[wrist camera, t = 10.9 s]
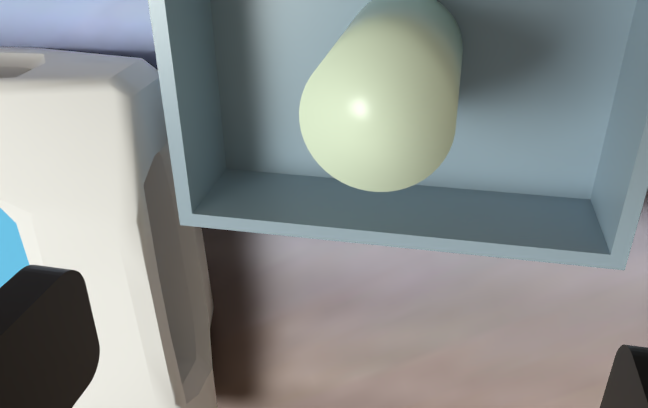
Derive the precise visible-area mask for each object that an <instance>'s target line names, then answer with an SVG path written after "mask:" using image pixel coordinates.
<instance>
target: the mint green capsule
mask: <svg viewBox="0 0 648 408" xmlns="http://www.w3.org/2000/svg"><path fill="white" fill-rule="evenodd" d="M462 55H463V42H462V36H461V32H460V29H459V26H458V24H457V22H456V20H455V19H454V17H453V16H452V14H451V13H450V12H449V11H448V9H447V8H446V7H445V6H443V5H442V4H441V3H440V2H438V1H437V0H372V1H371V2H370V3H368V4H367V5H366V6H365V7H364V8H363V9H362V10H361V11H360V12H359V13H358V14H357V16H356V17H355V18H354V20H353V21H352V22H351V24H350V25H349V26H348V28H347V29H346V30H345V32H344V33H343V34H342V35H341V37H340V38H339V39H338V41H337V42H336V43H335V45H334V46H333V47H332V49H331V50H330V51H329V53H328V54H327V55H326V57H325V58H324V59H323V60H322V62H321V63H320V64H319V66H318V67H317V68H316V70H315V71H314V72H313V74H312V75H311V76H310V78H309V80H308V82H307V83H306V85H305V88H304V90H303V93H302V96H301V101H300V107H299V123H300V129H301V133H302V136H303V139H304V142H305V144H306V146H307V148H308V150H309V152H310V153H311V155H312V157H313V158H314V159H315V160H316V162H317V163H318V164H319V165H320V166H321V167H322V168H323V169H324V170H325V171H326V172H327V173H328V174H330V175H331V176H332V177H334V178H335V179H337V180H339V181H340V182H342V183H344V184H346V185H349V186H351V187H354V188H357V189H361V190H365V191H372V192H390V191H397V190H401V189H405V188H408V187H410V186H413V185H415V184H417V183H419V182H421V181H423V180H424V179H426V178H427V177H428V176H430V175H431V174H432V173H433V172H434V171H435V170H436V169H437V168H438V167H439V166H440V165H441V163H442V162H443V161H444V160H445V158H446V156H447V154H448V153H449V151H450V148H451V146H452V143H453V140H454V136H455V130H456V119H457V109H458V98H459V87H460V77H461V66H462Z"/></svg>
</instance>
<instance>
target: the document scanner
mask: <svg viewBox="0 0 648 408" xmlns="http://www.w3.org/2000/svg"><path fill="white" fill-rule="evenodd" d="M28 265H40V266H48V267H55V268H63V269H70V270H76V271H78V272H79V273H81V275H82V276H83V278H84V280H85V283H86V287H87V292H88V296H89V301H90V305H91V309H92V314H93V318H94V322H95V327H96V331H97V335H98V340H99V345H100V356H99V362H98V367H97V370H96V373H95V375H94V377H93V379H92V381H91V383H90V384H89V386H88V387H87V388H86V390H85V391H84V392H83V394H82V395H81V396H80V398H79V399H78V401H77V402H76V403H75V405H74V406H73V407H72V408H218V407H217V399H216V391H215V384H214V376H213V367H212V353H211V339H210V327H211V321H212V316H213V310H214V305H213V299H212V292H211V286H210V279H209V273H208V266H207V260H206V253H205V247H204V240H203V233H202V227H194V226H184V225H180V221H179V214H178V207H177V200H176V193H175V186H174V179H173V172H172V165H171V158H170V151H169V144H168V137H167V130H166V123H165V116H164V109H163V102H162V95H161V88H160V81H159V74H158V70H157V69H155V68H154V67H153V66H152V65H150V64H149V63H148V62H146V61H145V60H144V59H142V58H135V57H125V56H115V55H105V54H95V53H84V52H74V51H64V50H54V49H44V48H34V47H0V288H1V287H2V286H3V285H4V284H5V283H6V282H7V281H8V280H10V279H11V278H12V277H13V276H14V275H15V274H16V273H17V272H19V271H20V270H21V269H22V268H24V267H26V266H28Z"/></svg>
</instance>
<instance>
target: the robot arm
mask: <svg viewBox="0 0 648 408" xmlns="http://www.w3.org/2000/svg"><path fill="white" fill-rule="evenodd" d="M99 356H100V345H99V340H98V335H97V331H96V327H95V322H94V318H93V314H92V309H91V305H90V301H89V296H88V292H87V287H86V283H85V280H84V278H83V276H82V275H81V273H79V272H78V271H76V270H70V269H63V268H55V267H48V266H40V265H28V266H26V267H24V268H22V269H21V270H20V271H19V272H17V273H16V274H15V275H14V276H13V277H12V278H11V279H10V280H8V281H7V282H6V283H5V284H4V285H3V286H2V287H1V288H0V408H72V407H73V406H74V405H75V403H76V402H77V401H78V399H79V398H80V396H81V395H82V394H83V392H84V391H85V390H86V388H87V387H88V386H89V384H90V383H91V381H92V379H93V377H94V375H95V373H96V370H97V367H98V362H99ZM600 408H648V348H646V347H638V346H630V345H622V346H621V347H620V348H619V349H618V351H617V353H616V356H615V359H614V362H613V366H612V369H611V372H610V376H609V379H608V382H607V386H606V389H605V392H604V396H603V399H602V402H601V406H600Z"/></svg>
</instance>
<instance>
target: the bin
mask: <svg viewBox="0 0 648 408" xmlns="http://www.w3.org/2000/svg"><path fill="white" fill-rule="evenodd" d="M371 1H372V0H148V4H149V11H150V18H151V25H152V32H153V39H154V46H155V53H156V60H157V67H158V74H159V81H160V88H161V95H162V102H163V109H164V116H165V123H166V130H167V137H168V144H169V151H170V158H171V165H172V172H173V179H174V186H175V193H176V200H177V207H178V214H179V221H180V225H184V226H194V227H204V228H214V229H223V230H233V231H243V232H253V233H263V234H273V235H283V236H292V237H302V238H312V239H322V240H332V241H342V242H351V243H361V244H371V245H381V246H391V247H401V248H410V249H420V250H430V251H440V252H450V253H460V254H470V255H479V256H489V257H499V258H509V259H519V260H529V261H538V262H548V263H558V264H568V265H578V266H588V267H597V268H607V269H617V270H625V267H626V263H627V260H628V256H629V253H630V249H631V246H632V242H633V239H634V235H635V232H636V228H637V224H638V221H639V217H640V214H641V210H642V207H643V203H644V200H645V196H646V193H647V189H648V0H437V1H438V2H440V3H441V4H442V5H443V6H445V7H446V8H447V9H448V11H449V12H450V13H451V14H452V16H453V17H454V19H455V20H456V22H457V24H458V26H459V29H460V32H461V36H462V42H463V55H462V66H461V77H460V87H459V98H458V109H457V119H456V130H455V136H454V140H453V143H452V146H451V148H450V151H449V153H448V154H447V156H446V158H445V160H444V161H443V162H442V163H441V165H440V166H439V167H438V168H437V169H436V170H435V171H434V172H433V173H432V174H431V175H430V176H428V177H427V178H426V179H424V180H423V181H421V182H419V183H417V184H415V185H413V186H410V187H408V188H405V189H401V190H397V191H390V192H372V191H365V190H361V189H357V188H354V187H351V186H349V185H346V184H344V183H342V182H340V181H339V180H337V179H335V178H334V177H332V176H331V175H330V174H328V173H327V172H326V171H325V170H324V169H323V168H322V167H321V166H320V165H319V164H318V163H317V162H316V160H315V159H314V158H313V157H312V155H311V153H310V152H309V150H308V148H307V146H306V144H305V142H304V139H303V136H302V133H301V129H300V123H299V107H300V101H301V96H302V93H303V90H304V88H305V85H306V83H307V82H308V80H309V78H310V76H311V75H312V74H313V72H314V71H315V70H316V68H317V67H318V66H319V64H320V63H321V62H322V60H323V59H324V58H325V57H326V55H327V54H328V53H329V51H330V50H331V49H332V47H333V46H334V45H335V43H336V42H337V41H338V39H339V38H340V37H341V35H342V34H343V33H344V32H345V30H346V29H347V28H348V26H349V25H350V24H351V22H352V21H353V20H354V18H355V17H356V16H357V14H358V13H359V12H360V11H361V10H362V9H363V8H364V7H365V6H366V5H367V4H368V3H370V2H371Z"/></svg>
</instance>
